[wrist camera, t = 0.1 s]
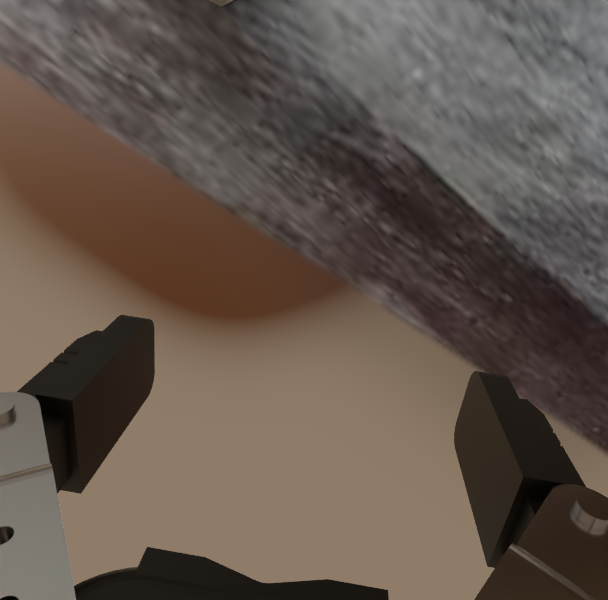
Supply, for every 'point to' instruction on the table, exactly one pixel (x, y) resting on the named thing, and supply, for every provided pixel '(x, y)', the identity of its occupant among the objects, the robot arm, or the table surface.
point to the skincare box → (221, 2)
